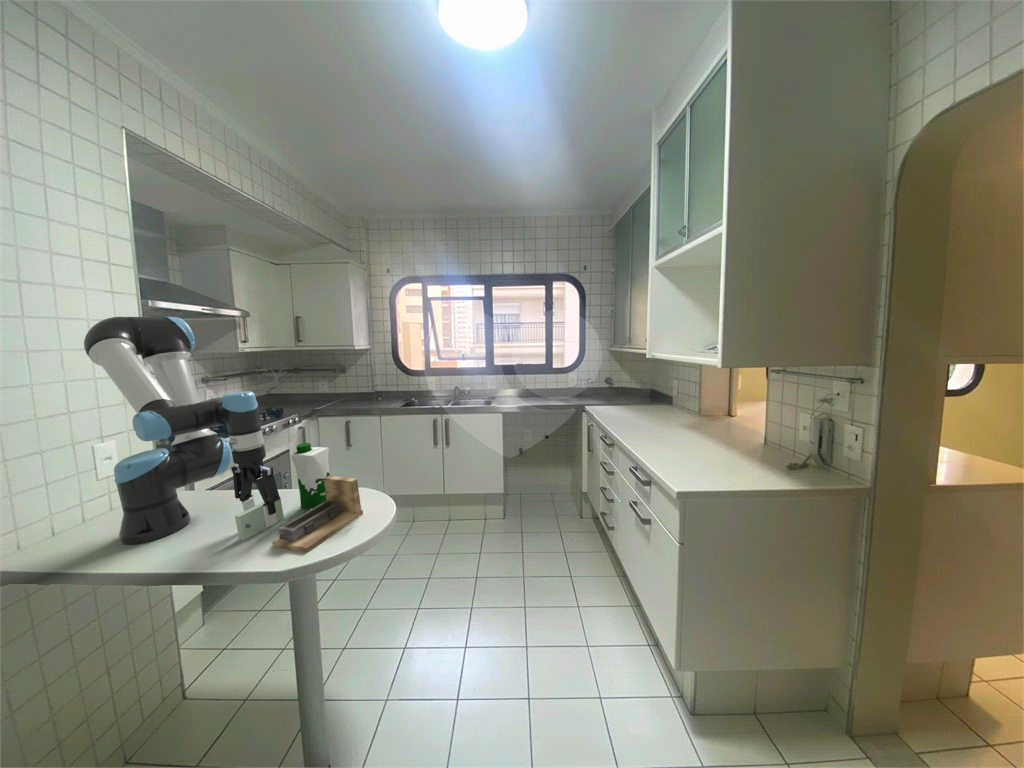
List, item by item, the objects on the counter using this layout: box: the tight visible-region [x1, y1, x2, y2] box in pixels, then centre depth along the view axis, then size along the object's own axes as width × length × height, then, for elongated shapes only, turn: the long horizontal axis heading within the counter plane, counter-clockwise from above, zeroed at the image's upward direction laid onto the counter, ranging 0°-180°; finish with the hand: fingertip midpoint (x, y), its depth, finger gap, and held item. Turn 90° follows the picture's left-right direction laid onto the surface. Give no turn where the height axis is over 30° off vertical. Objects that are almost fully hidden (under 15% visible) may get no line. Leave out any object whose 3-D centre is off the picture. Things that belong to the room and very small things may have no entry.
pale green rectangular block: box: [234, 497, 285, 541], centre depth 107 cm, size 3×12×7 cm, turn 160°
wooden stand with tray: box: [271, 475, 364, 553], centre depth 104 cm, size 12×20×11 cm, turn 160°
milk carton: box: [290, 442, 331, 510], centre depth 120 cm, size 9×9×20 cm
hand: (261, 522), depth 107 cm, fingers open, 8 cm apart
